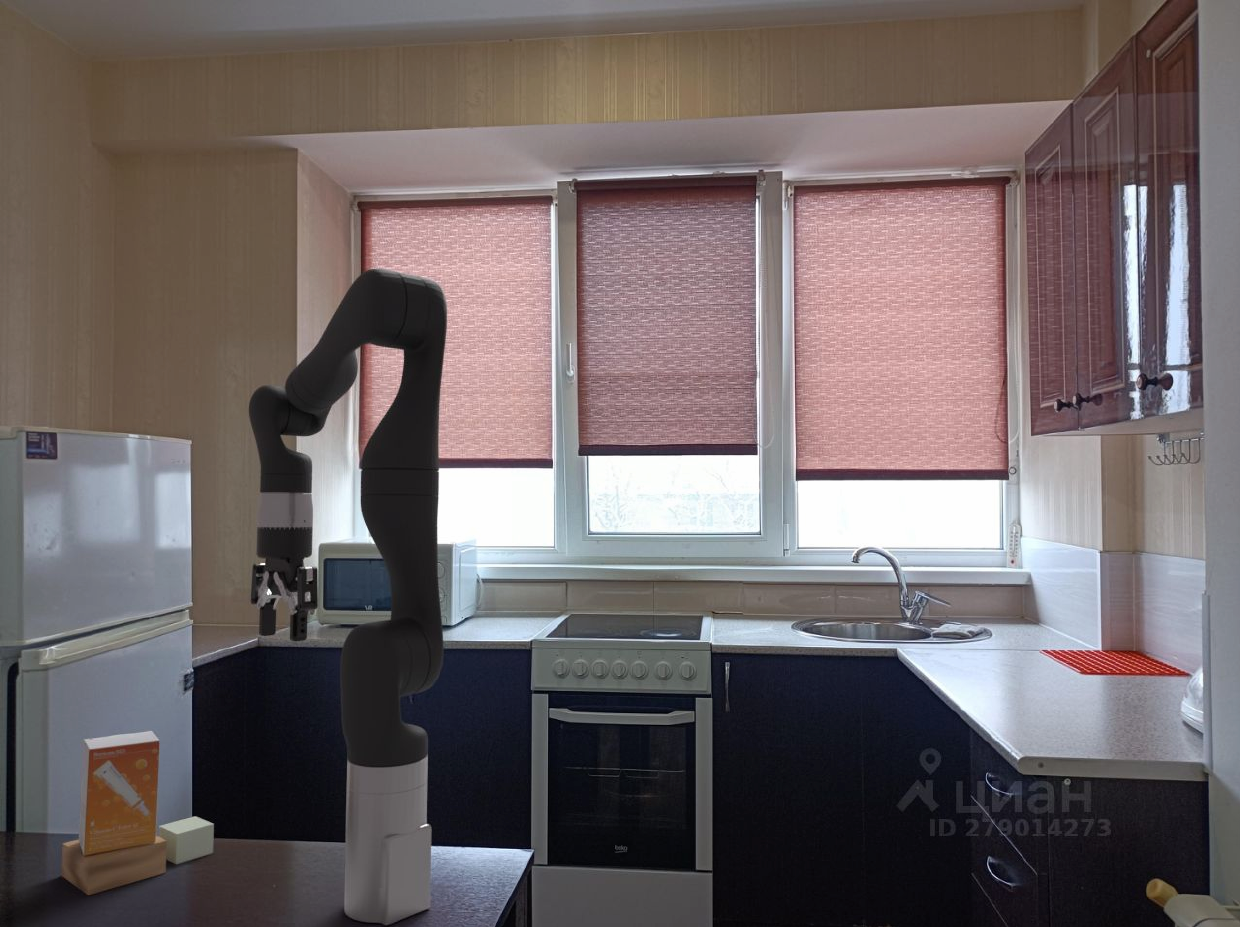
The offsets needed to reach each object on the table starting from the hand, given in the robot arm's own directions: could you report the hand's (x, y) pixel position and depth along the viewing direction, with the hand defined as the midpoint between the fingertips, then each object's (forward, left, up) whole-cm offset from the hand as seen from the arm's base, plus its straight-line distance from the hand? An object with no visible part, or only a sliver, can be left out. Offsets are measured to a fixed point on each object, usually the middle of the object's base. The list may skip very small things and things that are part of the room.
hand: (282, 638), depth 128 cm
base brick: (+4, +20, -28) cm, 35 cm away
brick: (+4, +11, -28) cm, 31 cm away
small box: (+3, +20, -24) cm, 32 cm away
